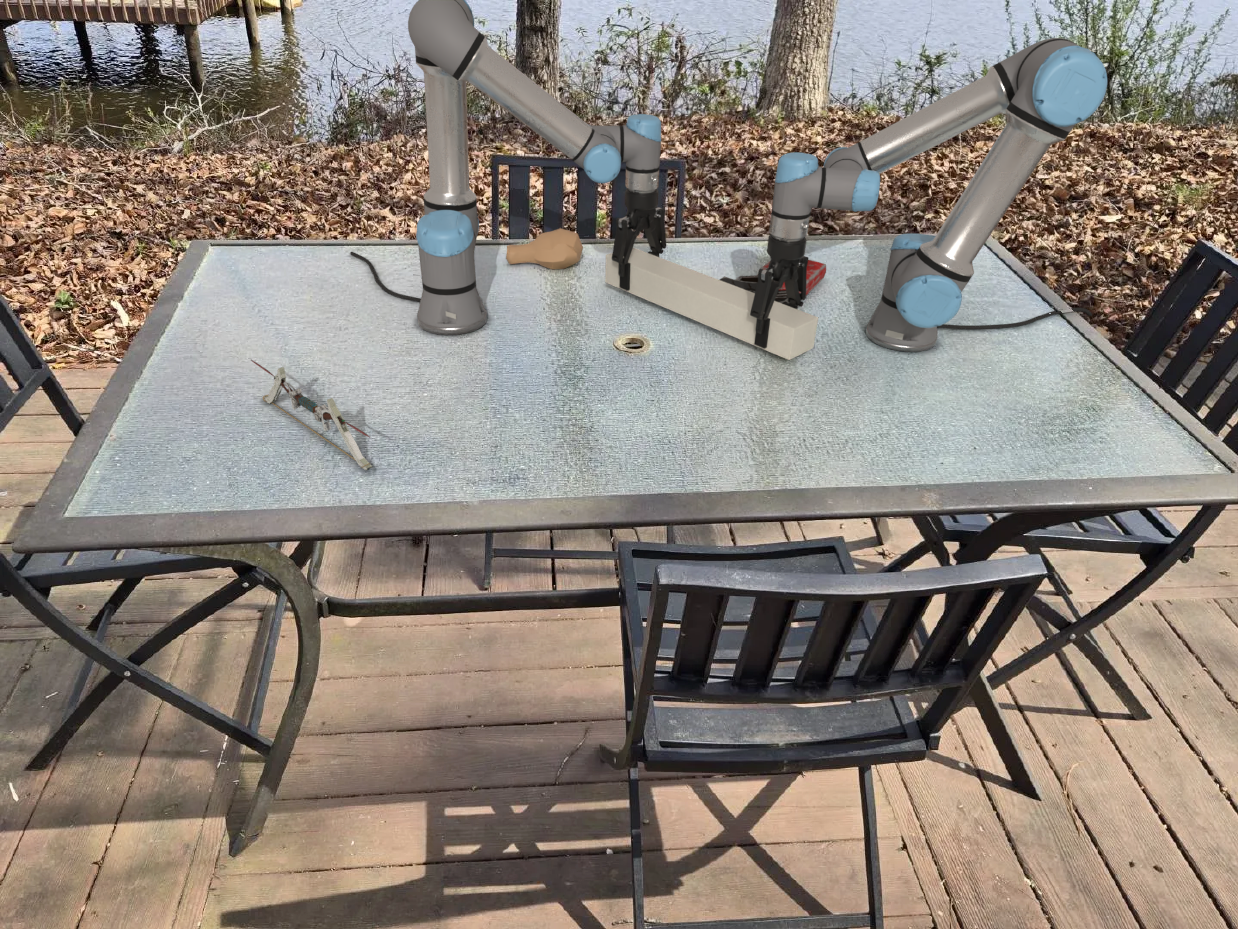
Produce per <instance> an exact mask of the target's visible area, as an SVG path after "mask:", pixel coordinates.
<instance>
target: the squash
mask: <svg viewBox="0 0 1238 929" xmlns="http://www.w3.org/2000/svg"><path fill="white" fill-rule="evenodd" d="M583 249H584V245H583V243H582V241H581V239H580V236H579V233H577V232H574V231H571V230H568V229H565V228H561V227H559V228H557V229H554V230H552V231H546V232H542V233H541V234H539V235H537V236H536V237H535V239H534V240H532V241H530V242H528V243H522V244H508V245H506V256H505V260H506V262H508V264H509V265H514V264H524V263H525V264H527V263H531V264H538V265H540V266H541V267H543V268H547V269H550V270H565V269H567V268H569V267H572V266H574V265H575V264H578V263H579V262H580V261H581V258H582V253H583Z"/></svg>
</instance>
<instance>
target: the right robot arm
mask: <svg viewBox="0 0 1238 929" xmlns="http://www.w3.org/2000/svg"><path fill="white" fill-rule="evenodd" d="M1107 89H1108V73H1107V70H1106V67H1105V65H1104V63H1103V62H1102V60H1101V59H1100V58H1099V57H1098V56H1097V55H1096V53H1095V52H1094V51H1091V50H1090V49H1089V48H1085V47H1083V46H1080V45H1078V44H1077V43H1075V42H1074V41H1072V40H1070V39H1067V38H1063V37H1051V38H1046V39H1042V40H1040V41H1037V42H1034V43H1033V44H1030V45H1029V46H1027V47H1024V48H1023V49H1021V50H1019V51H1017V52H1016V53H1014V54H1012V55H1010V56H1008V57H1006V58H1004V59H1003V60H1001V61H999V62H997V63H995V64H993V65H992V66H990V67H989V69H988V71H987V73H986V74H985V75H984V76H982V77H980V78H978V79H976V80H974V81H973V82H971V83H969V84H967V85H965V86H963V87H961V88H959V89H957V90H956V91H954V92H952V93H950V94H948V95H946V96H944V97H942V98H940V99H939V100H936V101H934V102H933V103H931V104H929V105H927V106H925V107H923V108H922V109H919V110H918V111H916V112H913V113H912V114H910V115H908V116H906V117H904V118H901V119H900V120H898V121H896V122H895V123H892V124H891V125H889V126H887V127H885V128H883V129H881V130H879V131H878V132H876V133H874V134H872V135H870V136H868V137H866V138H864V139H862V140H860V141H859V142H856V143H854V144H852V145H850V146H848V147H846V146H840V147H836V148H834V149H832V151H830V152H829V153H828V154H827V156H826V157H825V159H824V162H823V166H820V165H819V159H818V157H817V156H816V155H814V154H811V153H805V152H799V151H798V152H797V151H795V152H788V153H784V154H783V155H781V156H780V157H779V159H778V163H777V168H776V173H775V177H774V178H775V179H774V189H773V196H772V205H771V206H772V207H771V213H770V221H769V226H768V232H769V235H768V238H767V245H766V246H767V247H766V253H767V254H768V256H769V258H770V260H769V261H770V263H769V266H768V268H767V269H765V270H764V269H760V268H759V270H758V273H757V275H758V283H757V287H756V291H755V295H754V300H753V304H752V308H751V312H750V316H753V317H755V318H757V321H756V329H755V331H756V334H755V343H754V344H755V345H757V346H759V347H762V348H764V349H765V348H767V342H768V334H769V326H770V318H768V316H769V313H770V311H771V308H772V306H773V303H774V301H775V298H776V295H777V293H778V290H779V289H780V288H782V286H783V283H785V288H786V294H787V299H788V302H790V303H786V304H785V305H787V306H789V307H792V308H795V309H797V310H799V309H798V308H799V307H803V306H804V301H805V300H806V298H807V296H806V275H807V264H808V260H810V259H809V257H808V256H805V253H806V249H807V248H806V246H807V241H808V240H807V238H806V237H807V236H808V232H809V227H810V226H809V225H810V224H809V223H810V217H811V214H812V213H811V212H812V209H813V208H814V209H826V210H837V211H838V210H839V211H851V212H854V213H855V212H871V211H873V210H874V209H875V208H876V206H877V204H878V200H879V196H880V188H881V174H882V173H884V172H887V171H889V170H890V169H893V168H894V167H897V166H898V165H901V164H902V163H904V162H906V161H908V160H910V159H912V158H914V157H916V156H919V155H921V154H922V153H924V152H927V151H928V150H930V149H933V148H934V147H936V146H938V145H940V144H943V143H944V142H946V141H949V140H950V139H953V138H954V137H956V136H958V135H960V134H962V133H965V132H966V131H969V130H970V129H973V128H974V127H976V126H978V125H981V124H983V123H984V122H986V121H990V119H993V118H994V117H996V116H999V115H1001V114H1003V115H1005V117H1006V124H1005V126H1004V128H1003V129H1002V130H1001V132H1000V134H999V136H998V137H997V138H996V140H995V141H994V143H993V145H992V146H991V148H990V150H989V151H988V152H987V154H986V156H985V157H984V159H983V161H982V162H981V164H980V165H979V167H978V169H977V170H976V171H975V173H974V175H973V176H972V178H971V179H970V181H969V183H968V184H967V186H966V188H965V189H964V191H963V192H962V194H961V195H960V197H959V199H958V200H957V202H956V203H955V205H954V207H953V208H952V209H951V211H950V213H949V214H948V216H947V217H946V219H945V221H944V222H943V224H942V225H941V227H940V228H939V229H938V232H937V233H936V235H932V234H925V233H902V234H898V235H897V236H895V237H894V239H893V241H892V244H891V247H890V249H889V250H890V254H889V258H888V262H887V263H888V264H887V268H886V273H885V277H884V278H885V279H884V283H883V288H882V292H881V293H882V294H881V297H880V302H879V303H878V305H877V307H876V309H874V312H873V313H872V314H871V316H870V319H869V320H868V322H867V325H866V330H865V335H866V337H867V339H869V340H870V341H871V342H872V343H874V344H876V345H877V346H880V347H883V348H885V349H888V350H893V351H896V352H905V353H918V352H919V353H920V352H924V351H928V350H930V349H932V348H934V347H935V346H936V345H937V340H938V336H939V335H938V333H939V332H938V329H947V330H948V329H949V330H965V331H966V330H974V331H975V330H992V329H993V330H998V329H1009V328H1010V329H1011V328H1018V327H1023V326H1027V325H1029V324H1032V323H1035V322H1037V321H1040V320H1043V319H1047V318H1049V317H1051V316H1056V315H1063V314H1064V313H1062V312H1061V311H1058V312H1056V310H1052V311H1049V312H1046V313H1043V314H1041V315H1037V316H1034V317H1032V318H1029V319H1027V320H1023V321H1019V322H1012V323H1000V324H999V323H997V324H982V325H981V324H980V325H976V324H975V325H971V324H970V325H969V324H968V325H967V324H966V325H963V324H962V325H961V324H960V325H959V324H947V323H948V322H950V321H951V320H952V319H954V318H955V317H956V315H957V314H958V312H959V311H960V309H961V306H962V302H963V301H962V300H963V294H962V292H963V291H964V290H965V288H966V287H967V285H968V284H969V282H970V281H971V279H972V277H973V276H974V275H975V270H974V264H973V261H974V260H975V259H976V257H977V256H978V254H979V252H980V251H982V250H981V249H982V248H983V247H984V245H985V244H986V242H988V239H989V238H990V236H991V235H992V233H993V232H994V230H995V229H996V227H997V226H998V224H999V223H1000V221H1001V220H1002V218H1003V217H1004V215H1006V212H1007V211H1008V210H1009V208H1010V206H1012V203H1013V202H1014V201H1015V199H1016V198H1017V197H1018V195H1019V194H1020V192H1021V190H1022V189H1023V187H1024V186H1025V184H1026V183H1027V181H1028V180H1029V179H1030V177H1031V175H1032V174H1033V172H1034V171H1035V170H1036V168H1037V166H1038V165H1039V163H1040V162H1041V161H1042V159H1043V157H1044V156H1045V154H1046V153H1047V152H1048V150H1049V149H1050V147H1051V146H1052V145H1056V144H1058V143H1061V142H1063V141H1065V140H1066V139H1067V138H1068V136H1069V135H1070V133H1071V132H1072V130H1073V129H1074V128H1075V126H1076V125H1077V124H1080V123H1082V122H1084V121H1085V120H1087V119H1088V118H1090V117H1091V116H1092V115H1093V114H1094V113H1095V112H1096V111H1097V110H1098V108H1099V107H1100V106H1101V104H1102V102H1103V100H1104V98H1105V95H1106V93H1107ZM772 279H773V280H774V281H776V282H778V283H775V282H772ZM799 292H801V293H799ZM1070 308H1071V309H1072V310H1073V311H1074V312H1073V313H1076V312H1077V313H1079V312H1082V313H1084V314H1086V315H1087V316H1089V317H1092V316H1093V313H1092V312H1091V311H1090V310H1089V309H1087V308H1085V307H1070ZM1049 313H1051V314H1049ZM755 345H754V346H755ZM757 346H756V347H757ZM759 347H758V348H759ZM762 348H761V349H762ZM764 349H763V350H764Z"/></svg>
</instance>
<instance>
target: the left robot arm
mask: <svg viewBox="0 0 1238 929" xmlns="http://www.w3.org/2000/svg"><path fill="white" fill-rule="evenodd" d="M474 16H475V15H474V14H473V10H472V8H471V6H470V4H469V3H468V2H467V1H466V0H417V1H416V2H415V4H414V5H413V6H412V8H411V10H410V12H409V15H408V20H407V29H408V36H409V38H410V42H412V44H413V46H414V55H415V64H416V65H417V66H418V67H419V68H420V69H421V70H422V72H423V80H424V81H423V83H424V98H425V99H424V100H425V117H426V134H427V135H426V136H427V137H426V138H427V154H428V172H429V188H428V189H427V191H426V192H425V193H424V194H423V209H424V210H423V211H424V214H423V216H422V217H420V218H419V219H418V221H417V224H416V232H415V238H416V241H417V245H418V246H417V247H418V257H419V264H420V266H419V267H420V275H421V276H420V277H421V284H422V292H421V297H416V296H411V295H406V294H401V293H398V292H396V291H393V290H391V289H389V288H388V287H387V286H385V285H384V284H383V283H382V282H381V281H380V279H379V276H378V273H377V271H376V269H375V267H374V265H373V264H372V262H371V261H370V260H369V259H368V258H366V257H364V256H363V255H361V254H358V253H357V252H354V251H350V252H349V255H351V256H353V257H355V258H356V259H358V260H361V261H363V262H364V263H366V264H367V266H368V267H369V269H370V272H371V273H372V277H373V278H374V281H375V282H376V284H377V285H378V286H379V287H380V289H381V290H382V291H384V292H385V293H387V294H388V295H391V296H393V297H395V298H399V299H403V300H408V301H413V302H417V303H419V305H418V310H417V313H416V314H417V315H416V318H417V325H418V326H419V328H420V329H421V330H423V331H424V332H427V333H430V334H433V335H440V336H459V335H465V334H469V333H473V332H476V331H477V330H480V329H481V328H483V327H484V326H485V325H486V323H487V320H488V316H487V310H486V306H485V304H484V302H483V299H482V298H481V295H480V293H479V291H478V288H477V278H476V277H477V276H476V262H475V249H476V244H477V238H478V235H479V230H480V219H479V218H478V217H479V214H478V204H477V200H478V199H477V195H476V193H475V192H474V191H473V190H472V189H471V188H470V166H469V165H470V162H469V133H468V132H469V130H468V129H469V128H468V98H467V96H468V95H467V94H468V92H467V83H469V84H471V85H472V86H473V87H475V88H476V89H477V90H479V91H480V92H481V93H482V94H484V95H485V96H487V98H488V99H491V100H492V101H493V102H494V103H496V104H497V105H498V106H500V107H501V108H502V109H504V110H505V111H506V112H508V113H509V114H510V115H511V116H513V117H514V118H516V119H517V120H518V121H519V122H521V123H522V124H524V125H525V126H526V127H528V128H529V129H530V130H531V131H533V132H534V133H535V134H537V136H540V137H541V138H542V139H544V140H545V141H547V142H548V143H549V144H550V145H552V146H553V147H554V148H556V149H557V150H558V151H560V153H562V154H564V156H566V157H567V158H569V159H570V160H571V161H573V162H574V164H576V165H577V166H579V167H580V168H581V169H583V170H584V172H585V174H586V175H587V177H588V178H589V179H590V180H591V181H593V182H594V183H596V184H608V183H610V182H612V181H614V180H615V179H616V178H617V177H618V175H619V173H620V171H621V167H622V163H625V181H624V182H625V184H624V187H626V189H625V190H624V205H625V207H626V213H625V216H624V217H616V219H615V226H616V228H615V229H616V230H615V236H614V241H613V248H612V252H611V253H612V260H613V261H615V262H618V264H619V265H618V274H619V276H620V284H619V287H620V288H622V289H625V290H627V291H628V290H630V265H631V263H628V260H629V257H630V254H631V252H632V249H633V248H634V246H635V242H636V239H637V237H638V236H640V233H641V231H643V232H644V234H645V238H646V241H647V243H648V246H649V249H650V250H649V251H647V253H649V254H652V255H654V256H657V257H660V255H662V254H664V249H666V248H667V237H666V236H667V235H666V226H665V213H666V209H665V208H662V207H659V206H658V205H659V190H658V189H659V184H660V165H661V150H662V121H661V119H660V118H659V117H658V116H656V115H653V114H648V113H647V114H646V113H645V114H644V113H639V114H638V113H637V114H631V115H629V116H628V117H627V119H626V124H624V125H594V124H593V125H591V124H588V123H587V122H586V121H584V120H583V119H582V118H580V117H579V116H578V115H577V114H575V113H574V112H573V111H572V110H570V109H569V108H567V106H565V105H564V104H562V103H561V102H560V101H559V100H557V98H555V97H554V96H552V95H551V94H550V93H549V92H547V91H546V90H545V89H544V88H542V87H541V86H540V85H538V84H537V83H536V82H535V81H533V79H531V78H530V77H529V76H527V75H526V74H524V73H523V72H522V71H521V70H520V69H518V68H516V67H515V65H513V64H512V63H510V62H509V61H508V60H507V59H505V58H504V57H503V56H501V54H499V53H498V52H496V51H495V50H494V49H493V48H491V47H490V46H489V42H488V39H487V36H485V35H484V34H483V33H481V31H479V30H478V28H476V27H475V17H474ZM623 256H624V258H623ZM622 289H621V290H622ZM627 291H626V292H627Z"/></svg>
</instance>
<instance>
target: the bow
mask: <svg viewBox="0 0 1238 929" xmlns="http://www.w3.org/2000/svg"><path fill="white" fill-rule="evenodd" d="M250 361H251V362H252V363H253V364H255V365H256V366H257V367H259V368H260V369H262V370H263V371H265V372H266V373H268V374H269V375H271V376H272V377H273V385H272V386H271V388H270V389H269V391H268V394H265V395H263V396H261V398H262V400H263V402H265V403H267V404H269V405H270V404H272V405H273V406H275V407H277V409H279V410H281V411H282V412H284V413H285V414H286V415H288V416H289V417H291V418H292V419H294V420H295V421H296V422H298V423H300V424H301V425H302V426H304V427H306V428H307V429H308V430H309V431H312V432H313V433H314V434H316V435H317V436H318V437H320V438H322V439H323V440H324V441H326V442H328V443H329V444H331V445H332V446H333V447H335V448H336V449H338V450H339V451H340V452H342V453H344V454H345V455H347V456H348V457H349V458H351V459H353V460H354V461H355V462H356V463H357V464H358V465H357V466H359V467H360V468H361V469H363V470H365V471H368V469H369V468H370V469H372V468H373V465H371V462H369V461H368V460H367V459H366V458H365V456H364V455H363V453H362V452H361V449H360V447H359V445H358V444H357V442H356V440H355V439H354V436H353V435H352V434H351V432H350V429H349V427H350V428H351V429H354V430H355V431H357V432H359V433H361V434H362V435H363V436H365V437H368V438H371V436H370V435H369V434H368V433H366V432H364V431H363V430H362V429H360V428H358V427H357V426H355V425H353V424H351V423H348V422H347V421H346V420H345V418H344V417H343V415H342V413H341V411H340V409H339V408H338V406H337V403H336V402H335V400H334V398H333V397H330V398H327V399H326V403H327V405H326V404H322V405H320V406H318V404H317V403H316V402H315V401H313V400H311V399H310V398H309V397H307V396H304V395H303V394H302V393H303V392H302V389H301V388H297V389H296V388H295V387H294V386H293V385H292V384H291V383H290V382H288V381H286V380H287V375H286V370H285V367H284V366H282V367H278V368H277V373H276V375H274V374H273V373H272V372H271V371H270V370H269V369H266V368H265V367H264V366H263V365H262V364H260V363H258V362H257V361H255V360H253V359H250ZM282 390H285V392H286V393H287V394H288V397H289V399H290V401H291V409H292V410H293V411H295V410H297V409H300V408H301V407H302V408H304V409H306V410H307V411H309V412H310V413H312V414H313V415H314V418H315V421H317V422H318V423H319V422H320V423H322V427H323V431H325V432H327V431H330V430H333V429H332V425H331V422H330V420H332V421H333V422H334V424H335V425H336V427H337V430H338V431H339V433H340V435H341V437H342V440H343V441H344V443H345V445H346V446H347V448H348V450H349V452H350V454H351V455H350V454H348V453H347V452H345V451H344V450H343V449H341V448H340V447H338V446H337V445H336V444H334V443H332V442H331V441H330V440H328V439H326V438H325V437H324V436H322V435H321V434H319V433H318V432H316V431H315V430H314V429H312V428H311V427H310V426H308V425H306V424H305V423H303V422H302V421H300V420H299V419H297V417H295V416H293V415H292V414H291V413H289V412H287V411H285V410H284V409H282V408H281V407H280V406H278V405H277V404H275V402H276V401H278V399H279V397H280V395H281V393H282ZM348 426H349V427H348Z"/></svg>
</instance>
